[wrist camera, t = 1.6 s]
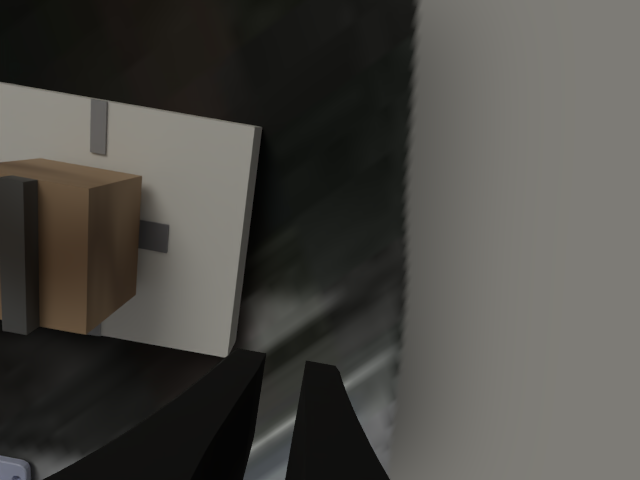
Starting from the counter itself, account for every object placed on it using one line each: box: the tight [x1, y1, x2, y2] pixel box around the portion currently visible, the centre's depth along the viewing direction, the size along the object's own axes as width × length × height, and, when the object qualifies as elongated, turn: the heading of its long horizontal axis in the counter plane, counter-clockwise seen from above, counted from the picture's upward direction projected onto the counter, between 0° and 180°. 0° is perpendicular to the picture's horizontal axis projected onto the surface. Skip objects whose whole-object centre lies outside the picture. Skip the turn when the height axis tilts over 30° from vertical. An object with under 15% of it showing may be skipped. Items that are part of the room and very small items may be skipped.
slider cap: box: [0, 158, 142, 335], centre depth 15 cm, size 5×4×4 cm
